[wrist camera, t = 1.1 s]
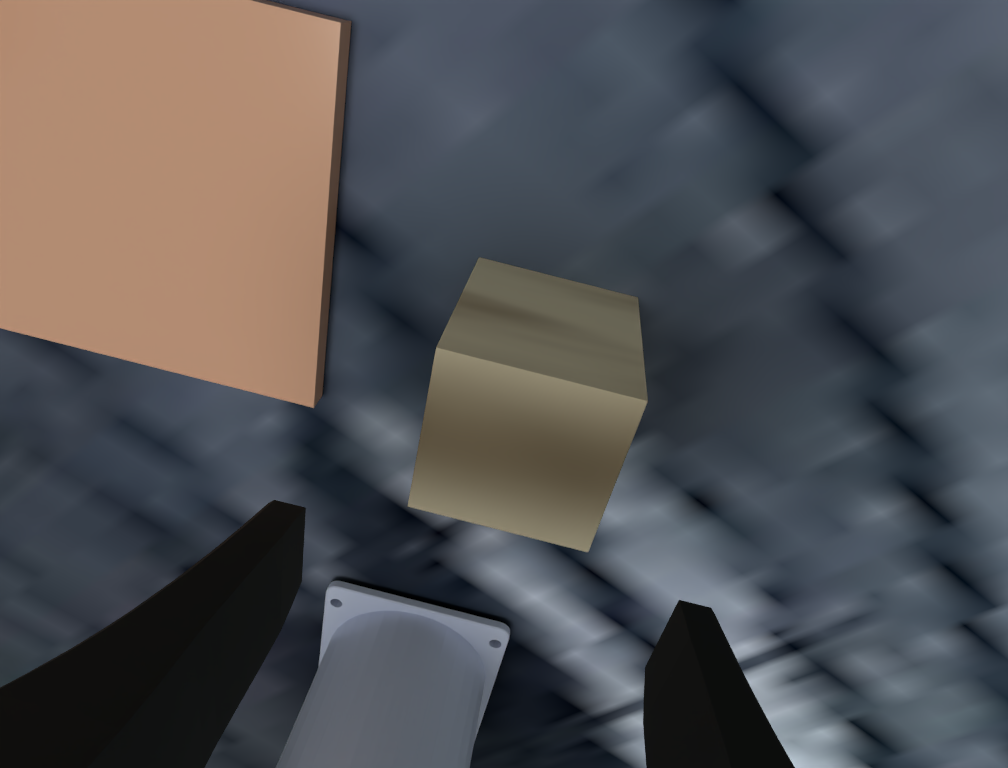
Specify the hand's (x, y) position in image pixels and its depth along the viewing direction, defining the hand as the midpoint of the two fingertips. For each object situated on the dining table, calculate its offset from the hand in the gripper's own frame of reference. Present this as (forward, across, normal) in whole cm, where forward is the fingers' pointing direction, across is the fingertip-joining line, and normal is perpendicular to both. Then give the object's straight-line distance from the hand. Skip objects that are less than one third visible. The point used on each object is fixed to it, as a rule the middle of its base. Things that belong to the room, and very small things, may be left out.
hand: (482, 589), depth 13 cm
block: (+10, 0, 0) cm, 11 cm away
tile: (+10, +13, -2) cm, 17 cm away
